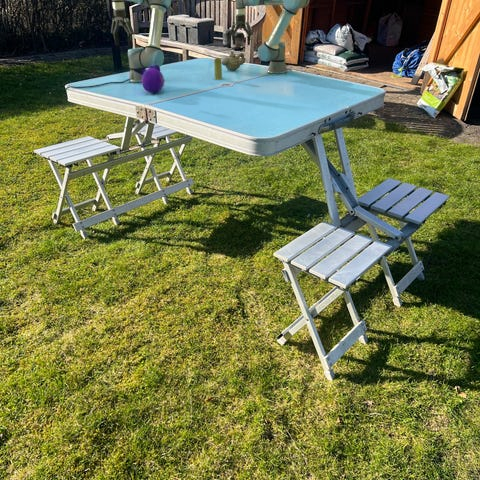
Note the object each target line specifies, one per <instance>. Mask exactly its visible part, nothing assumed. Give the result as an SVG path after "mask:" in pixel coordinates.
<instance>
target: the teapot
mask: <svg viewBox="0 0 480 480" xmlns="http://www.w3.org/2000/svg"><path fill="white" fill-rule="evenodd" d="M240 58H241V60H240ZM245 62H246V59H245V54H244V53H243V52H239V54H237V55H236V54H235V53H234V51H233V50H232V51H230V53H229V55H228V57H224V58H222V59H221V66H225V68H226V70H227V71H229V72H235V71H237V70H239V68H240V67H241V66H243V65H244V64H245Z"/></svg>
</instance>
